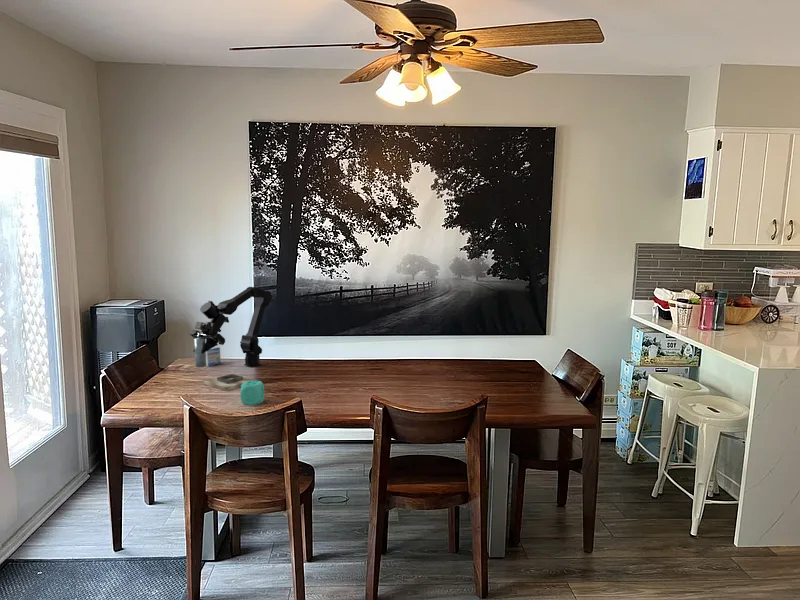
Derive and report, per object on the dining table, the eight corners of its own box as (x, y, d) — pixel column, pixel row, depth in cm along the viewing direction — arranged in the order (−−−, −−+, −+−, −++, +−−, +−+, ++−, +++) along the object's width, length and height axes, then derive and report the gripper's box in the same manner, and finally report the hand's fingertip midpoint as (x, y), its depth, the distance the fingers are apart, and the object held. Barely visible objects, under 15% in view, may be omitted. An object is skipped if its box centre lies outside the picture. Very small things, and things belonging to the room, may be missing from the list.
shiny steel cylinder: (202, 364, 278) (200, 336, 276) (208, 365, 275) (207, 337, 274) (193, 366, 274) (191, 338, 272) (199, 367, 272) (198, 339, 270)
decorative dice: (264, 398, 248) (263, 380, 247) (261, 405, 240) (260, 385, 239) (245, 399, 248) (244, 380, 246) (241, 405, 240) (240, 386, 238)
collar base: (234, 376, 281) (234, 370, 281) (255, 382, 271) (255, 376, 271) (204, 384, 269) (204, 378, 269) (225, 390, 259) (225, 384, 259)
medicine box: (207, 366, 300) (206, 350, 299) (202, 365, 303) (201, 348, 302) (221, 363, 307) (220, 347, 305) (215, 362, 309) (214, 346, 308)
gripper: (191, 313, 280) (173, 340, 272) (219, 316, 270) (200, 345, 262) (205, 326, 287) (188, 353, 280) (233, 330, 278) (215, 358, 270)
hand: (197, 352), depth 273 cm, fingers closed on shiny steel cylinder, 5 cm apart
